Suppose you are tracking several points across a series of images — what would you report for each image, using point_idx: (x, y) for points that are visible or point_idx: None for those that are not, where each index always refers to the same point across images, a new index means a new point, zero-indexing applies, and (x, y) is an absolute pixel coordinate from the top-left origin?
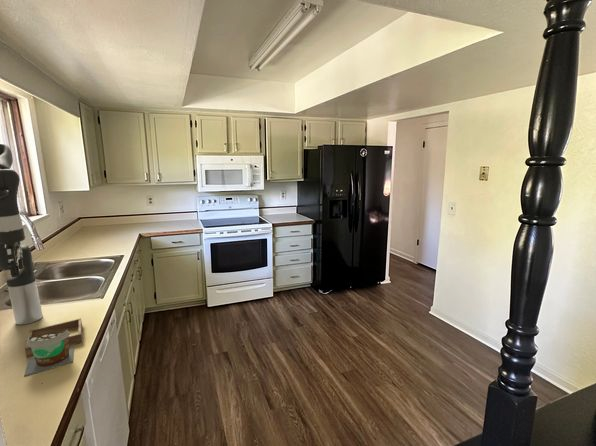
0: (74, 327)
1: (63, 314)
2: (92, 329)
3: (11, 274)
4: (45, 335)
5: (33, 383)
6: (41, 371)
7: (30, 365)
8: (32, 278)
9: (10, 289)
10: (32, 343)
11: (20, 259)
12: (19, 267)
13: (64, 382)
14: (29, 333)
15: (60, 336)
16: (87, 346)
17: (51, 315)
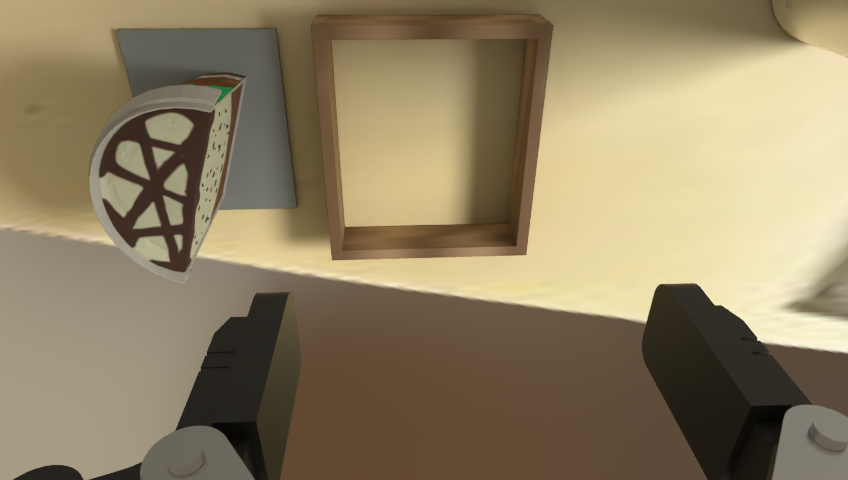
0: (510, 206)
1: (743, 146)
2: (443, 269)
3: (248, 319)
4: (180, 184)
5: (41, 74)
6: (135, 96)
7: (205, 47)
8: None
9: None
10: (104, 129)
11: (714, 475)
12: (660, 335)
13: (6, 186)
14: (507, 26)
15: (131, 251)
16: (281, 254)
17: (788, 87)
